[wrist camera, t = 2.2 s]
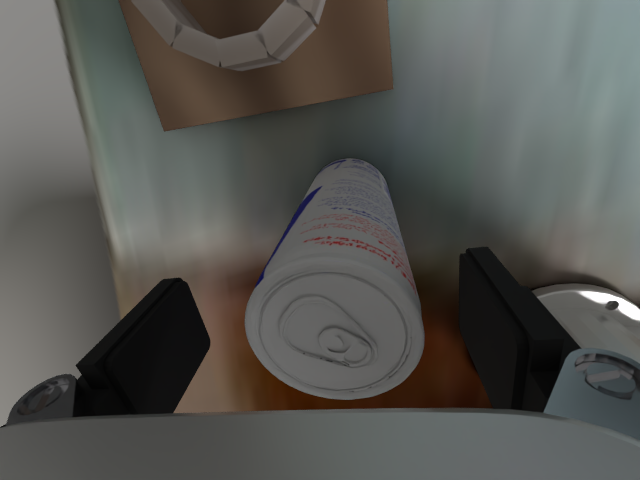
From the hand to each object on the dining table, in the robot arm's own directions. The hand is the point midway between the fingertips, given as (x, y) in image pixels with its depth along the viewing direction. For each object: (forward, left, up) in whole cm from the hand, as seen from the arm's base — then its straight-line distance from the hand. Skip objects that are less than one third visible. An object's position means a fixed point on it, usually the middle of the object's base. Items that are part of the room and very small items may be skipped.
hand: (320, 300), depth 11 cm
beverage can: (0, 0, -14) cm, 14 cm away
